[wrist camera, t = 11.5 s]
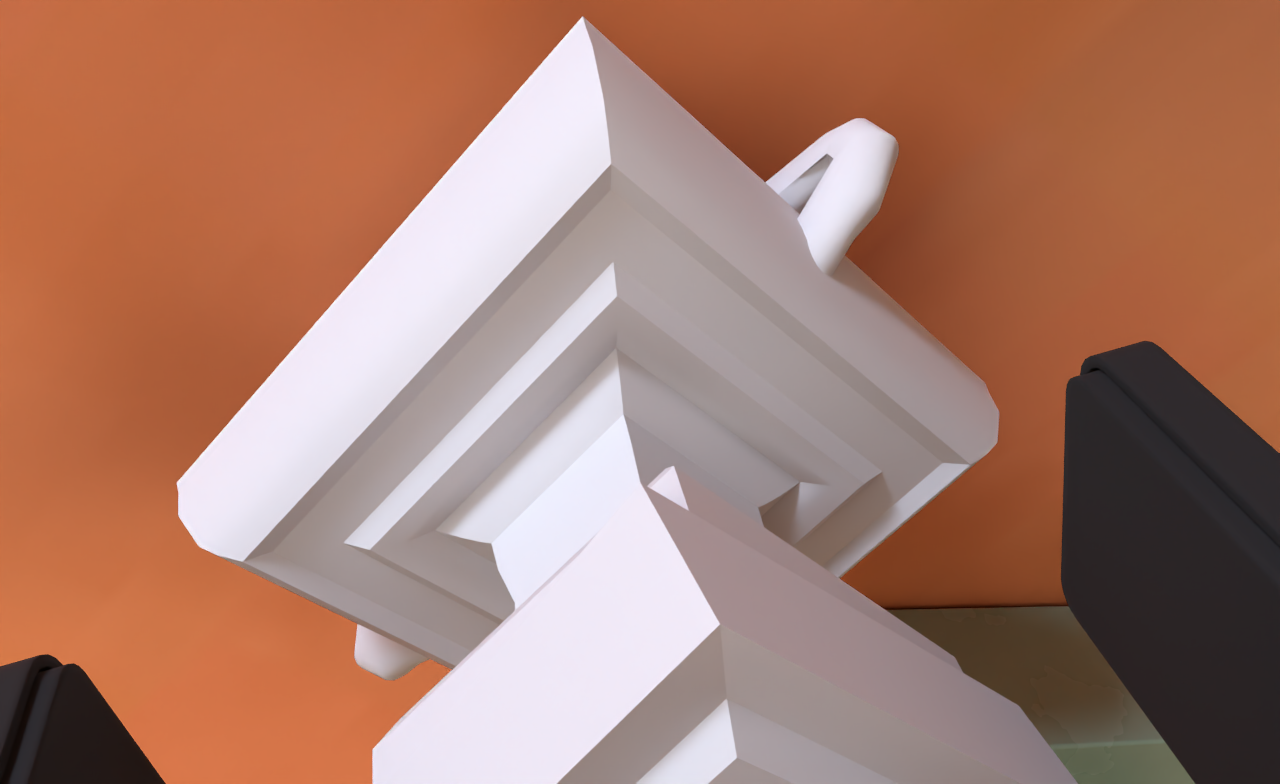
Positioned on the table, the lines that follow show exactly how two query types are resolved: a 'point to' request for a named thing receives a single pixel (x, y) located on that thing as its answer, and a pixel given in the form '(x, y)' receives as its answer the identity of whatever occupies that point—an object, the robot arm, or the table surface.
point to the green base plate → (1055, 688)
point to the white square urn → (624, 463)
